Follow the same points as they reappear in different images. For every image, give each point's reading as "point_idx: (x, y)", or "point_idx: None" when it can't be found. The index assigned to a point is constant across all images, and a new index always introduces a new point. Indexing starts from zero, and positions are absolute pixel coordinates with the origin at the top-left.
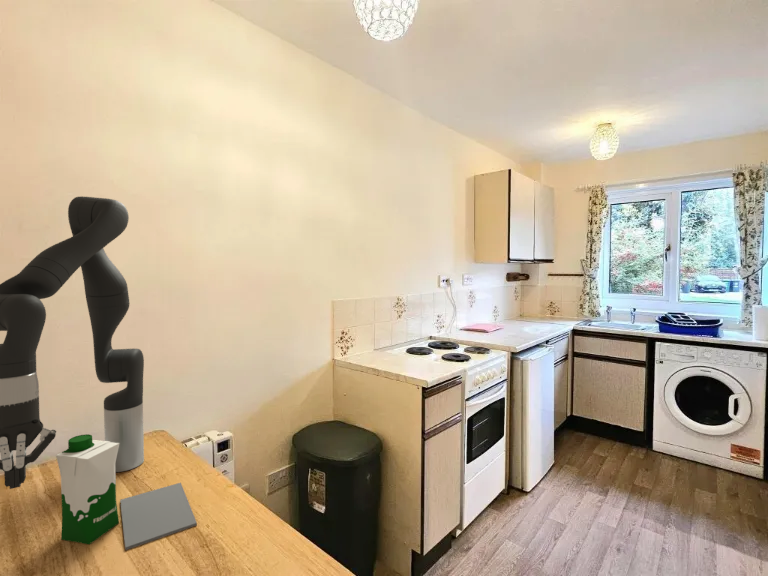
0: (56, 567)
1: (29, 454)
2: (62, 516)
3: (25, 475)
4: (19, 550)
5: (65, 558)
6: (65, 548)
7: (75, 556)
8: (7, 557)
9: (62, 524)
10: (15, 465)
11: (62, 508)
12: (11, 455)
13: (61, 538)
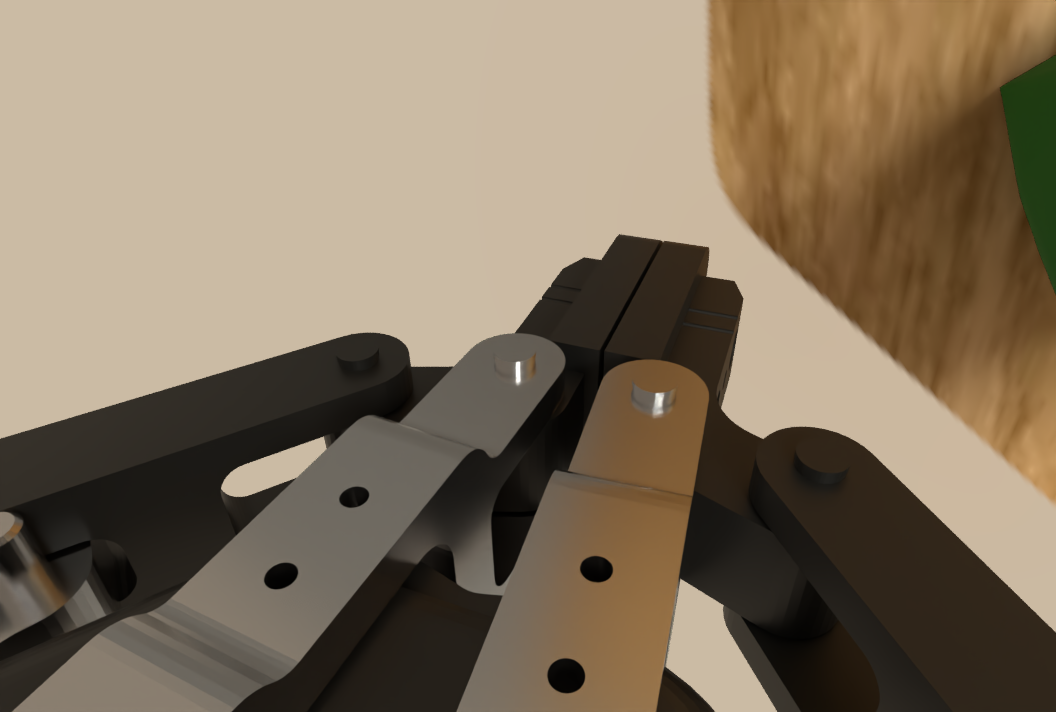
0: (902, 350)
1: (744, 533)
2: (1026, 213)
3: (734, 336)
4: (770, 37)
5: (958, 309)
6: (988, 212)
7: (1005, 329)
8: (712, 74)
9: (1016, 178)
10: (596, 356)
11: (1039, 246)
12: (491, 581)
13: (1002, 93)
